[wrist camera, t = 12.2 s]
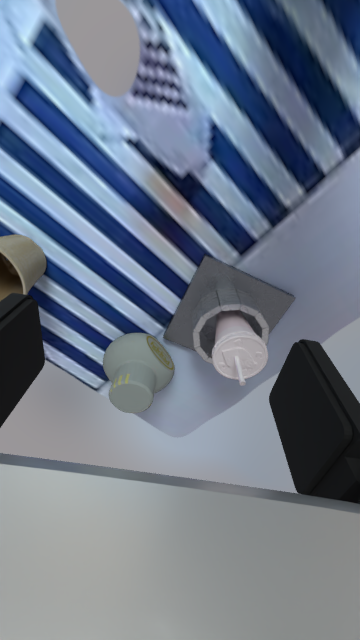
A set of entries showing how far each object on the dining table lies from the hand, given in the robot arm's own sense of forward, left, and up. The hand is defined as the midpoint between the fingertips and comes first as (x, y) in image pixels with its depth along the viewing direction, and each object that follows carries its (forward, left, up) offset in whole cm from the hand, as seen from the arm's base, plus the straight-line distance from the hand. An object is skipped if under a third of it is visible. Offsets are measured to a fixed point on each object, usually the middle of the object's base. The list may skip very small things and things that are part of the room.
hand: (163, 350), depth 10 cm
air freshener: (+21, +3, -28) cm, 35 cm away
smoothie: (+9, +12, -27) cm, 31 cm away
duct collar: (+9, +11, -28) cm, 31 cm away
